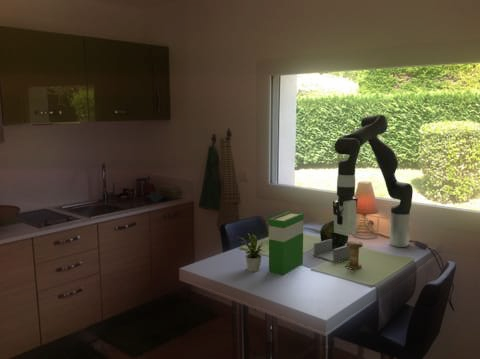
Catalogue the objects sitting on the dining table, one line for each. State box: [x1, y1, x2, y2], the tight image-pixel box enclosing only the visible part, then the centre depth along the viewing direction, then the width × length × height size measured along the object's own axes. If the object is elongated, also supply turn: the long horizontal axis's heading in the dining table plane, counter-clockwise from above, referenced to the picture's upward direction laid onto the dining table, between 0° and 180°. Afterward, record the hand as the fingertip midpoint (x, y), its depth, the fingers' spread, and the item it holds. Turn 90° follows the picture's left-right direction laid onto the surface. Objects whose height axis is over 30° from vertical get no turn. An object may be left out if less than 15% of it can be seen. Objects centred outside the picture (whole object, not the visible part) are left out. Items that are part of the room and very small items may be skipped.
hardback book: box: [268, 210, 304, 277], centre depth 192 cm, size 18×7×24 cm, turn 144°
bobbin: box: [345, 240, 364, 270], centre depth 194 cm, size 7×7×11 cm
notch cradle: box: [313, 239, 350, 264], centre depth 208 cm, size 12×14×6 cm
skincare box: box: [333, 198, 357, 237], centre depth 185 cm, size 8×6×15 cm
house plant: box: [238, 233, 266, 272], centre depth 192 cm, size 14×14×16 cm
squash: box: [319, 219, 349, 247], centre depth 226 cm, size 14×15×15 cm
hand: (344, 223), depth 186 cm, fingers closed on skincare box, 6 cm apart
